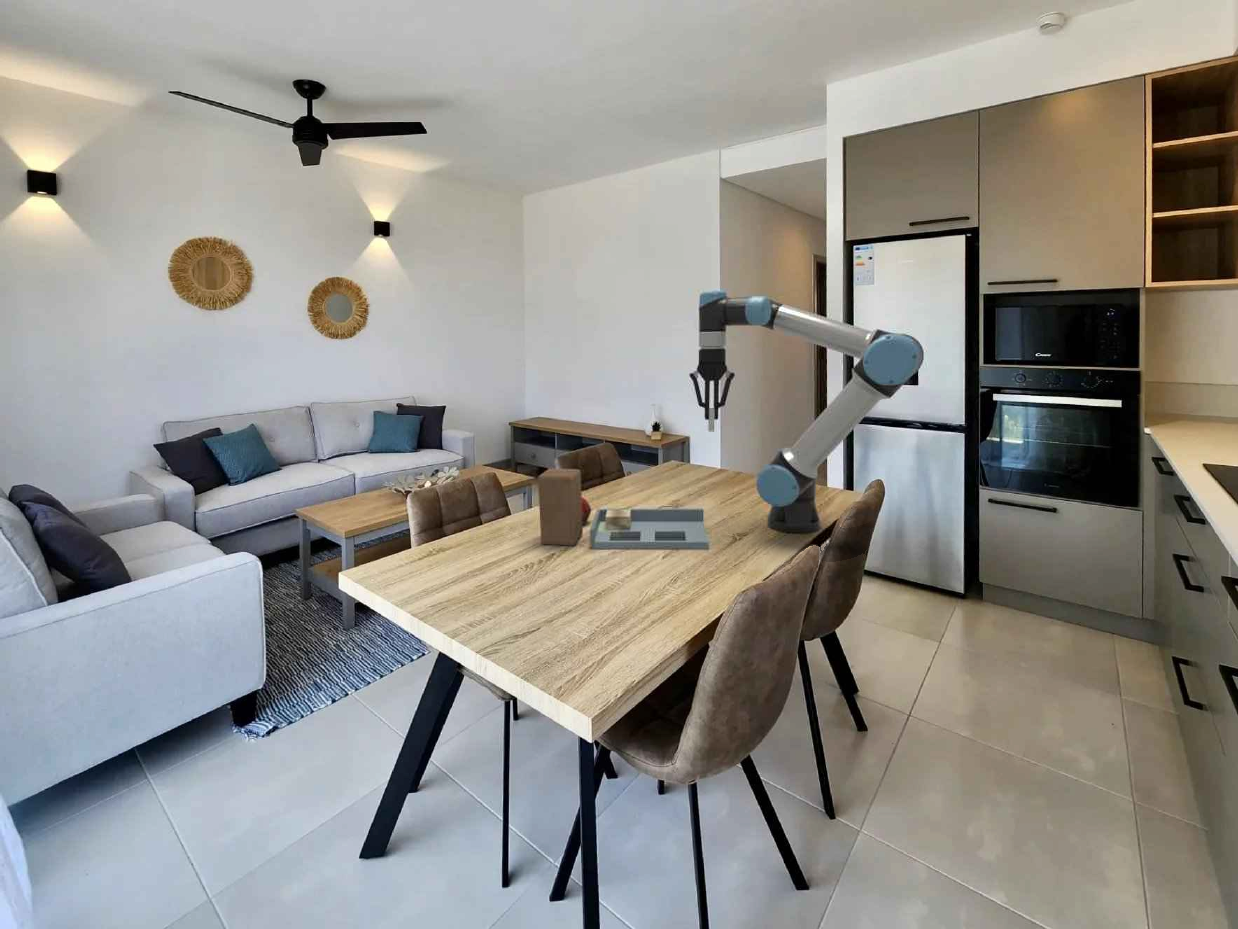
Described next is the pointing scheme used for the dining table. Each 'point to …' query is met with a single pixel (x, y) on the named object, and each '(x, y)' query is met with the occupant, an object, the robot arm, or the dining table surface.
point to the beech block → (618, 519)
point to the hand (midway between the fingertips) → (711, 430)
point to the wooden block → (560, 506)
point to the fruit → (585, 510)
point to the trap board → (652, 530)
